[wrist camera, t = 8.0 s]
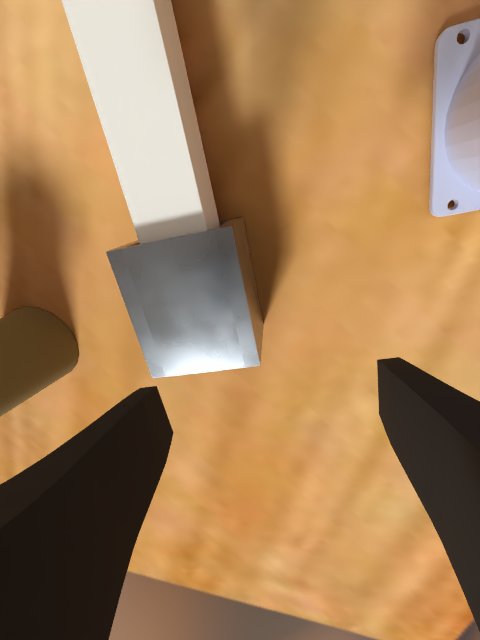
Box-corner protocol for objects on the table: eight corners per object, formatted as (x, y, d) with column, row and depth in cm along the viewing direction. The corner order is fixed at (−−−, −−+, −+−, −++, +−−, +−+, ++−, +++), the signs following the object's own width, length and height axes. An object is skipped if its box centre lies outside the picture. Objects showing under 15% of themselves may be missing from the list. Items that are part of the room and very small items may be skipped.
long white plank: (109, -290, 10) (37, -502, 7) (226, 248, 17) (215, 261, 14) (25, -242, 11) (-76, -419, 8) (170, 259, 18) (148, 273, 15)
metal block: (243, 217, 17) (231, 226, 13) (263, 324, 20) (260, 365, 15) (149, 236, 18) (105, 251, 14) (179, 336, 21) (152, 378, 16)
